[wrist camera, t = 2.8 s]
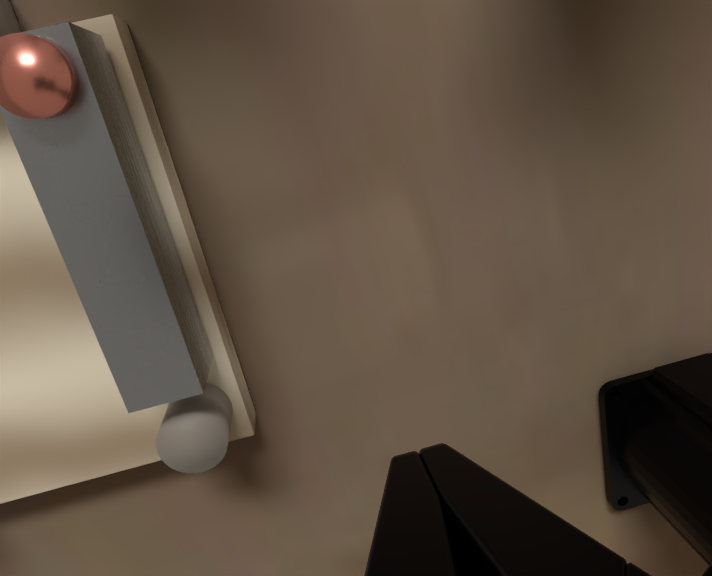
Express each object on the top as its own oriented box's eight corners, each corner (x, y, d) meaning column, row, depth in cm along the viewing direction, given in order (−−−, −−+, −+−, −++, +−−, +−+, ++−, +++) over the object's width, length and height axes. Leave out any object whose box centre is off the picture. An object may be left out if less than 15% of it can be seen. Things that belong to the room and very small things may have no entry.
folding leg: (20, 53, 15) (-44, 39, 12) (101, 35, 15) (58, 18, 12) (147, 373, 18) (122, 424, 15) (213, 356, 18) (200, 403, 15)
